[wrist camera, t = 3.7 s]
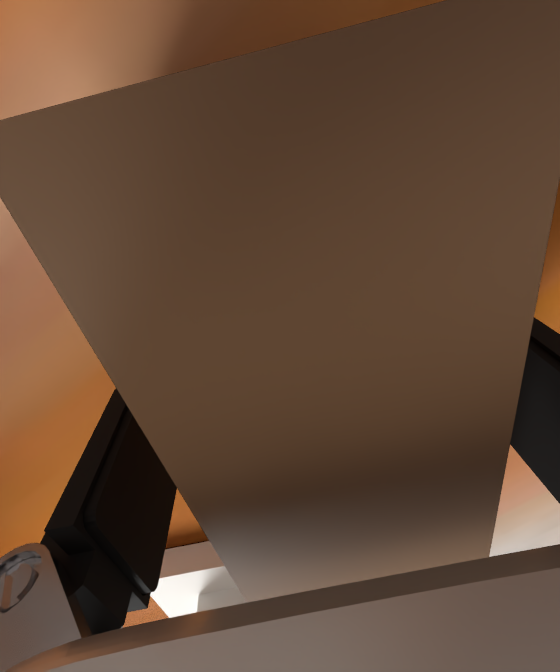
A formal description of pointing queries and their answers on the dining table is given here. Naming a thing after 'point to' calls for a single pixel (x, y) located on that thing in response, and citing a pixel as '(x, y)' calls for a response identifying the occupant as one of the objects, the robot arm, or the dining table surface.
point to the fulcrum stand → (194, 581)
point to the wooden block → (315, 278)
